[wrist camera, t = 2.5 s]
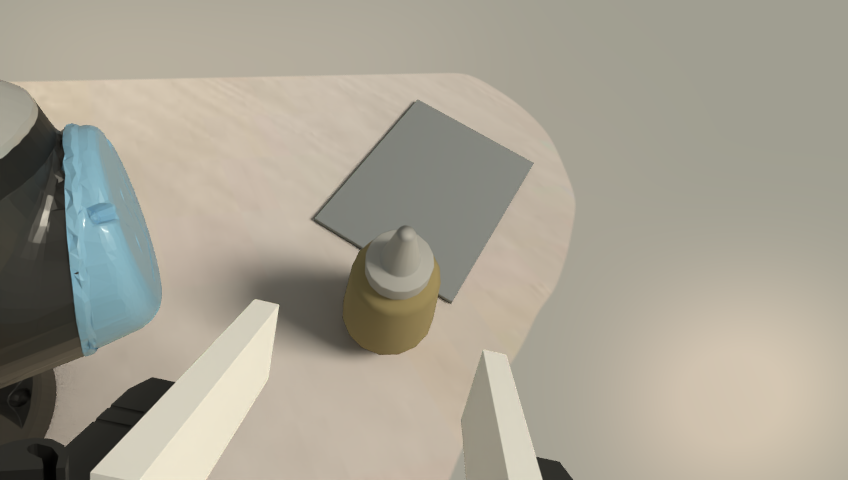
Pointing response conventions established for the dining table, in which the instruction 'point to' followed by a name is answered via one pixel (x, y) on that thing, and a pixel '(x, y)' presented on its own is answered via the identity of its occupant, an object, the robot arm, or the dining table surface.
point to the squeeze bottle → (392, 292)
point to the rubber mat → (430, 191)
